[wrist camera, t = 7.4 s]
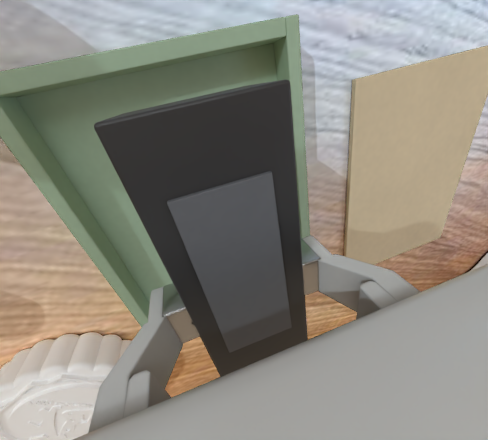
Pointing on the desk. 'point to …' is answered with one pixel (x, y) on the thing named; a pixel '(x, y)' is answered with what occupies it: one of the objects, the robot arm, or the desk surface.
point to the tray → (127, 100)
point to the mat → (409, 151)
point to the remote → (221, 212)
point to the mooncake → (56, 386)
